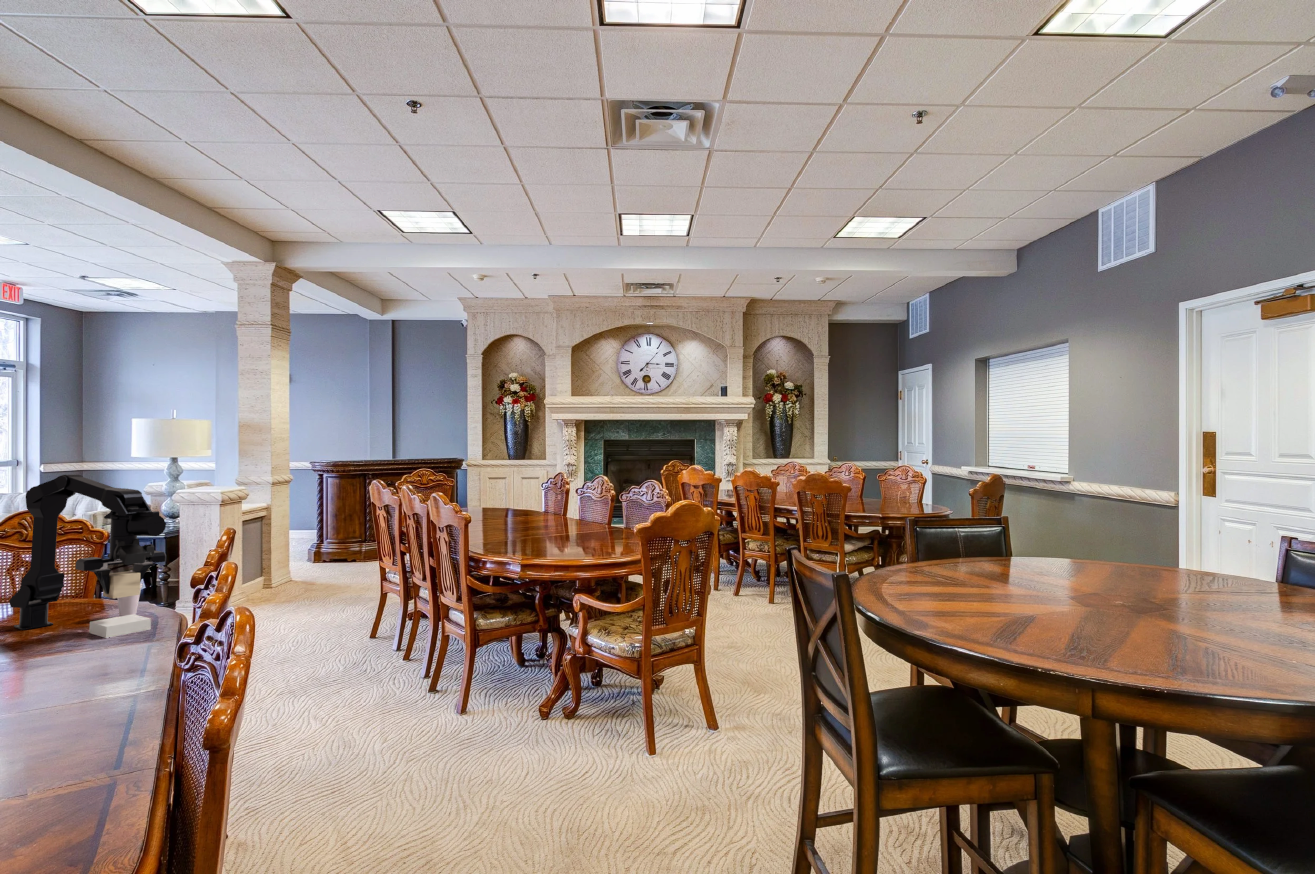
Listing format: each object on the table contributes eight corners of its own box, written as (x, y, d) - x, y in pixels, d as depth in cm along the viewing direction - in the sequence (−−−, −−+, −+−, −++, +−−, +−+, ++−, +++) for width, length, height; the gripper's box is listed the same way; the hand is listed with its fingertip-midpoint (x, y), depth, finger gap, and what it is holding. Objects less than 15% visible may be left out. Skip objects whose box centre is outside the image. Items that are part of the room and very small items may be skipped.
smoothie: (125, 620, 186) (127, 572, 186) (107, 619, 187) (109, 571, 187) (146, 615, 192) (148, 569, 192) (129, 614, 193) (131, 568, 194)
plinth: (89, 632, 173) (89, 621, 173) (133, 624, 182) (133, 614, 182) (106, 638, 168) (106, 626, 168) (150, 629, 177) (151, 618, 177)
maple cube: (103, 596, 174) (103, 574, 174) (129, 592, 179) (130, 570, 179) (113, 598, 171) (114, 576, 171) (139, 594, 176) (140, 572, 176)
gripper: (94, 540, 164) (92, 601, 163) (177, 533, 180) (175, 588, 179) (75, 537, 169) (73, 596, 168) (157, 531, 185) (155, 584, 185)
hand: (121, 591), depth 175 cm, fingers closed on maple cube, 6 cm apart
